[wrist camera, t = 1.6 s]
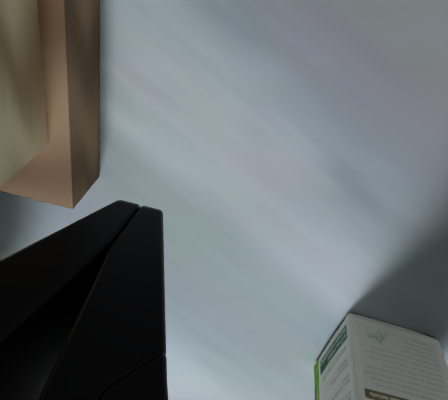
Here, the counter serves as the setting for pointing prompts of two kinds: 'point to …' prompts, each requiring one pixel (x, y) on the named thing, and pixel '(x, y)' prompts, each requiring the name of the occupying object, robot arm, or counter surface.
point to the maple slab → (20, 87)
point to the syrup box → (380, 364)
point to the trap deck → (66, 106)
